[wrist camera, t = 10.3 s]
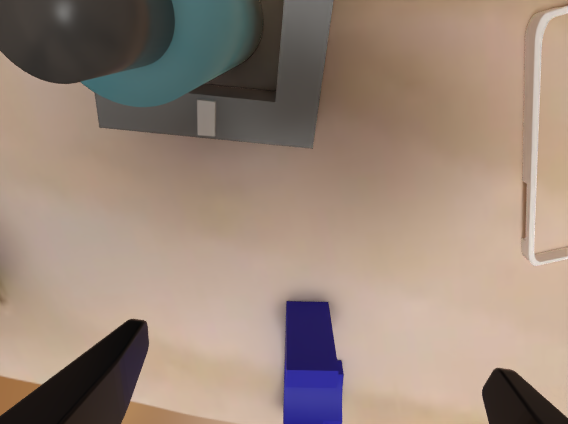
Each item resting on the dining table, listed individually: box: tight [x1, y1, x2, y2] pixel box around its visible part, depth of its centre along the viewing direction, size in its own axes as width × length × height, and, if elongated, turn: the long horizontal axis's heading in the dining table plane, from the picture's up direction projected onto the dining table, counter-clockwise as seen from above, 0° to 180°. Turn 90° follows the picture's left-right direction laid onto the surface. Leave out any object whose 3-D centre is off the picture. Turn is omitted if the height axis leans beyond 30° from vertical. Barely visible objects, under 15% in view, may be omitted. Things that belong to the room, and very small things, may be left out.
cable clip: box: [283, 301, 344, 424], centre depth 26 cm, size 12×4×6 cm, turn 179°
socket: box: [95, 0, 333, 149], centre depth 16 cm, size 10×10×3 cm
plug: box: [0, 0, 263, 107], centre depth 12 cm, size 4×4×13 cm
